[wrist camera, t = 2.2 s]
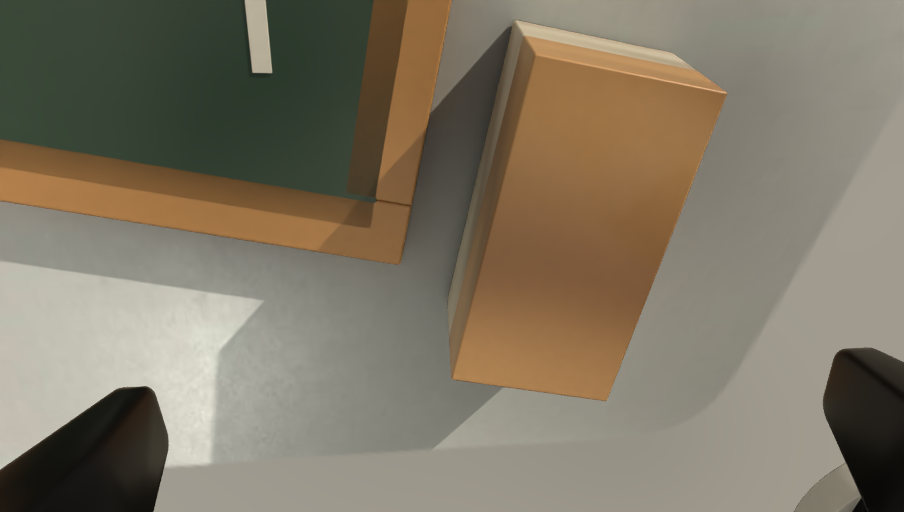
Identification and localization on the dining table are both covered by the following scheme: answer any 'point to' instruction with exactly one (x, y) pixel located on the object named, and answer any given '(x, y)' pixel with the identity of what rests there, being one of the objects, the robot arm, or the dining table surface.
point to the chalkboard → (223, 115)
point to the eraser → (573, 208)
